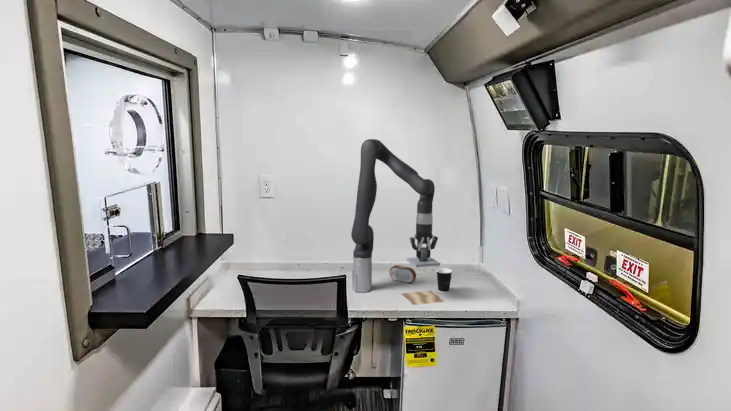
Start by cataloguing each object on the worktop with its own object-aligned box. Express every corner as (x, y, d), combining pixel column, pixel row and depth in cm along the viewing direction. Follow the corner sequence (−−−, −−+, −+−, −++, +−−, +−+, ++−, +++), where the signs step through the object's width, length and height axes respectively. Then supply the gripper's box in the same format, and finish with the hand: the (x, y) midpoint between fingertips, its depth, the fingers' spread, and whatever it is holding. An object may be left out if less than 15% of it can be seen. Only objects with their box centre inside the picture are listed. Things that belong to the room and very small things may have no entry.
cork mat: (412, 305, 212) (413, 304, 212) (400, 294, 227) (400, 293, 227) (445, 302, 217) (445, 301, 217) (430, 291, 232) (430, 290, 232)
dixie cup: (449, 295, 226) (450, 273, 225) (433, 293, 230) (434, 271, 228) (453, 290, 234) (454, 269, 232) (437, 288, 237) (438, 267, 235)
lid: (416, 267, 212) (416, 251, 211) (406, 260, 224) (406, 245, 223) (440, 265, 216) (440, 250, 214) (429, 259, 227) (430, 244, 226)
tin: (416, 283, 245) (416, 268, 244) (413, 285, 242) (414, 269, 241) (391, 278, 253) (391, 263, 252) (388, 280, 250) (388, 265, 249)
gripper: (434, 220, 222) (433, 255, 225) (407, 221, 218) (406, 257, 221) (441, 223, 215) (440, 259, 218) (413, 224, 211) (412, 261, 214)
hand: (423, 257), depth 219 cm, fingers closed on lid, 4 cm apart
